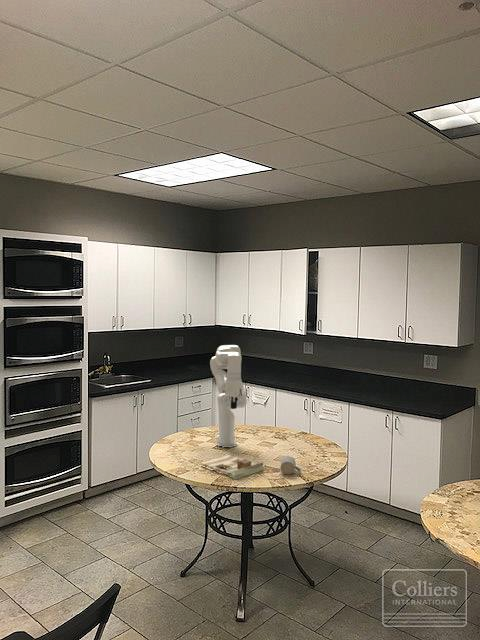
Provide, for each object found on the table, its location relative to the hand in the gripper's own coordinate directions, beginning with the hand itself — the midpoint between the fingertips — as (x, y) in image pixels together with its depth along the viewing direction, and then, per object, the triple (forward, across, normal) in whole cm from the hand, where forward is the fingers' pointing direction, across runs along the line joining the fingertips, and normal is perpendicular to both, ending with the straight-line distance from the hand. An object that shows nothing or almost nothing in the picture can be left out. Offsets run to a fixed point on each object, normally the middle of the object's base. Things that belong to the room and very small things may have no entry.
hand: (233, 408), depth 297 cm
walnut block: (+25, +23, -15) cm, 37 cm away
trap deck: (+27, +14, -15) cm, 34 cm away
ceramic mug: (+27, +40, +2) cm, 48 cm away
